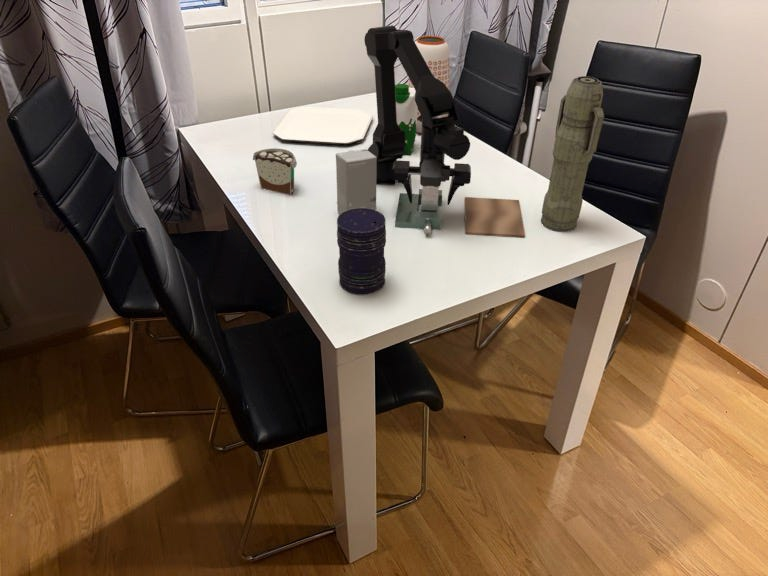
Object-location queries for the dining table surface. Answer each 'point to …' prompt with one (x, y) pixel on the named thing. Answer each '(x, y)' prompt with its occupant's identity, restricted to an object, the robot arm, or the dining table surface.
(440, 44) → the planter
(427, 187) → the steel bar
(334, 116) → the plate
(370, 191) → the skincare box
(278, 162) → the food container
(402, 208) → the green base
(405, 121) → the milk carton
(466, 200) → the walnut mat
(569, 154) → the thermos
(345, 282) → the storage jar
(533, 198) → the dining table surface
